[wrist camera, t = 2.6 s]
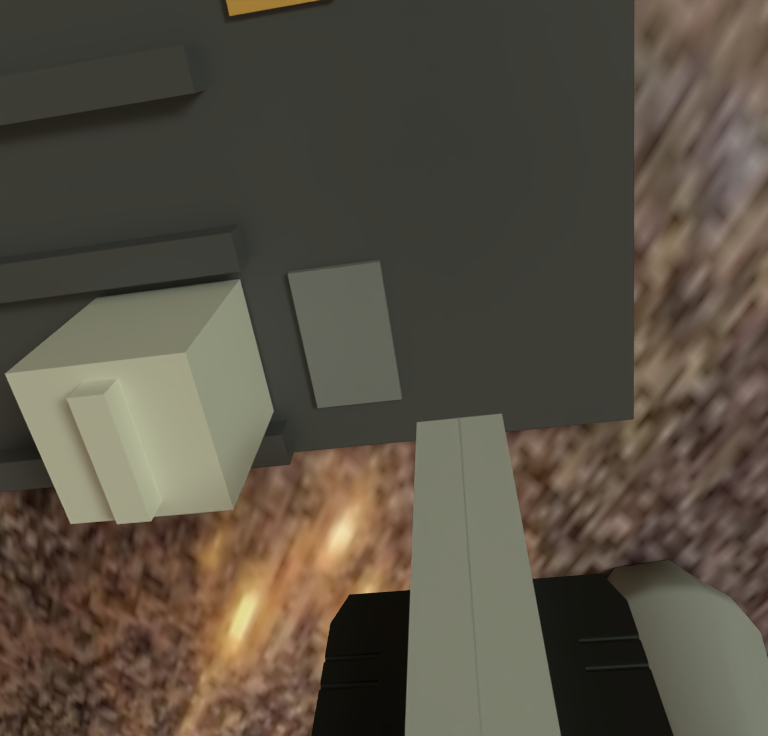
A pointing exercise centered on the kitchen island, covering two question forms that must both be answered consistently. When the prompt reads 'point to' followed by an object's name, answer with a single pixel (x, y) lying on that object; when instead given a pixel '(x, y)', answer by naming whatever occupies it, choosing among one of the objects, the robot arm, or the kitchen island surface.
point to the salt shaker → (698, 651)
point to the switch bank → (333, 200)
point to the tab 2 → (148, 403)
